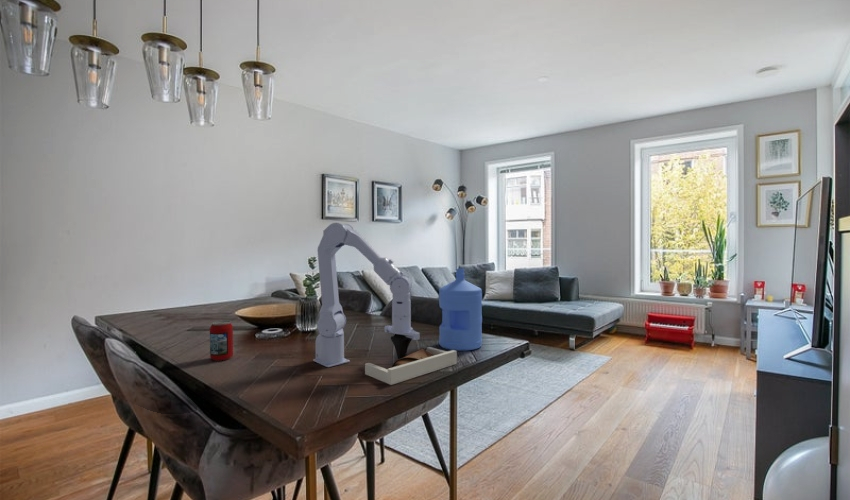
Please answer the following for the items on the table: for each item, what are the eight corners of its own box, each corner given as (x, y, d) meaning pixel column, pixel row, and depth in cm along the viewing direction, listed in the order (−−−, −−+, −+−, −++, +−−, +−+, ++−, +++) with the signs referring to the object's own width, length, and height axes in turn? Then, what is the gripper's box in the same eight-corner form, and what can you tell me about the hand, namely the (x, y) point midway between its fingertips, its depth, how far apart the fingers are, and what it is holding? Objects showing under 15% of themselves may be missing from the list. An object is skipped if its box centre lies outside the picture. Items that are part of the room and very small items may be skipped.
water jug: (460, 338, 157) (460, 266, 156) (491, 346, 145) (491, 269, 144) (430, 345, 147) (429, 268, 146) (460, 354, 135) (460, 271, 134)
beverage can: (205, 361, 129) (204, 324, 128) (220, 355, 135) (220, 319, 135) (223, 362, 127) (222, 324, 127) (237, 356, 134) (237, 320, 133)
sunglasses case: (416, 376, 113) (406, 355, 114) (398, 385, 116) (388, 364, 117) (444, 359, 129) (434, 340, 130) (427, 368, 131) (418, 349, 133)
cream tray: (365, 374, 115) (365, 360, 115) (429, 355, 133) (429, 343, 133) (391, 384, 106) (391, 370, 106) (456, 363, 124) (456, 351, 124)
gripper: (427, 316, 120) (427, 361, 121) (396, 310, 131) (396, 351, 131) (409, 319, 116) (409, 366, 116) (379, 313, 126) (379, 355, 126)
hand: (401, 358), depth 123 cm, fingers closed
